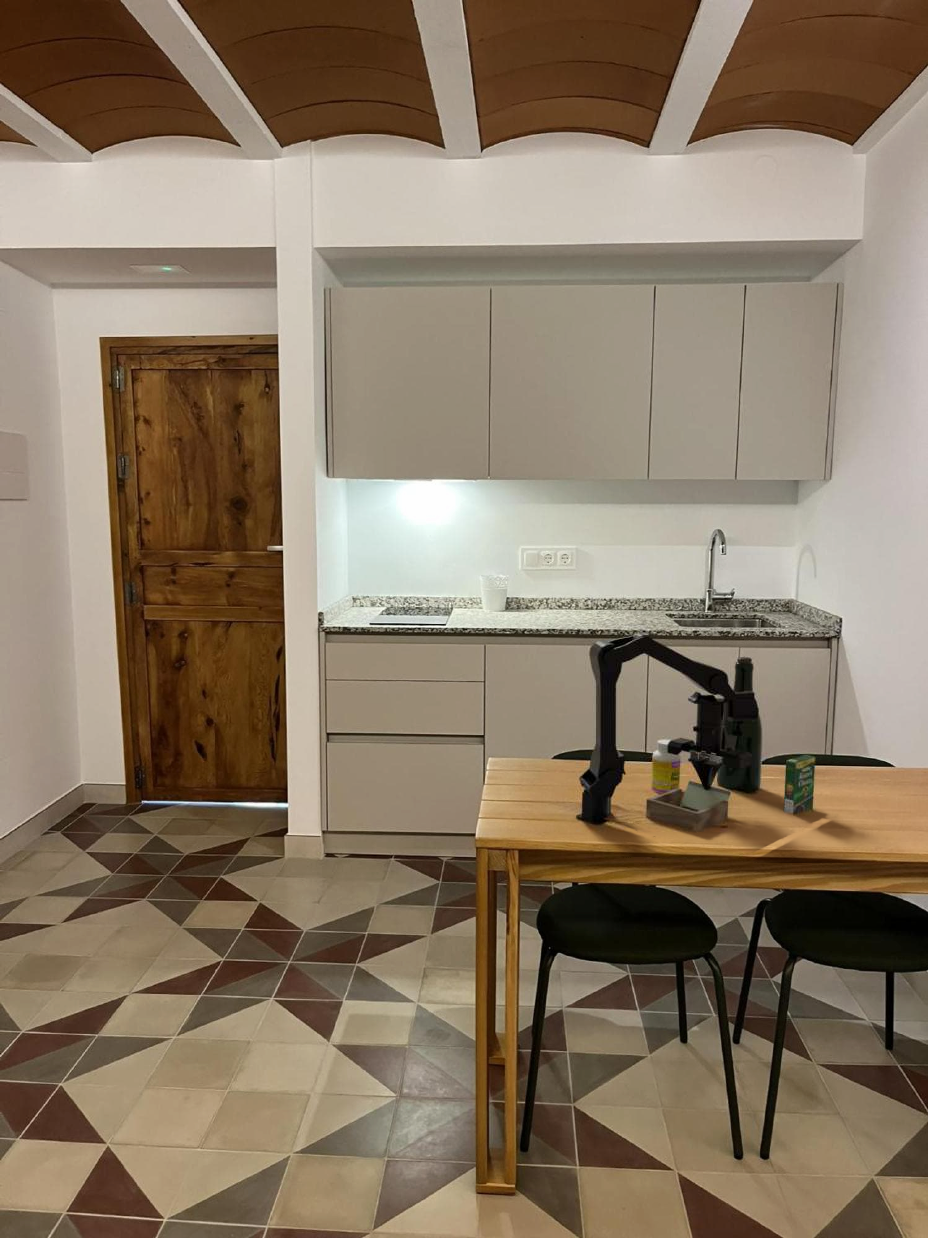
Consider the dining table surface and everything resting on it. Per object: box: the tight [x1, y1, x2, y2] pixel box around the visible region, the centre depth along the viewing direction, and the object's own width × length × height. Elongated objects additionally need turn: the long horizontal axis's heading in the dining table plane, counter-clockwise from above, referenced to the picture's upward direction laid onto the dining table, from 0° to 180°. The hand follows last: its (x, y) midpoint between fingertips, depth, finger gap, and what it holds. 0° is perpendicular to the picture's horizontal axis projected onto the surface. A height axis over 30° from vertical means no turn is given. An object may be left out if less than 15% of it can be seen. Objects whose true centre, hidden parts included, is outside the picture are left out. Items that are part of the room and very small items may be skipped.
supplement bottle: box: [650, 739, 681, 794], centre depth 220 cm, size 7×7×13 cm
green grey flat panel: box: [680, 780, 732, 812], centre depth 205 cm, size 1×10×6 cm
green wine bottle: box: [716, 656, 763, 795], centre depth 224 cm, size 10×10×33 cm
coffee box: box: [783, 754, 816, 815], centre depth 206 cm, size 8×3×13 cm, turn 127°
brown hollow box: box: [645, 787, 729, 833], centre depth 201 cm, size 12×13×5 cm
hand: (707, 789), depth 205 cm, fingers closed, pressing on green grey flat panel
